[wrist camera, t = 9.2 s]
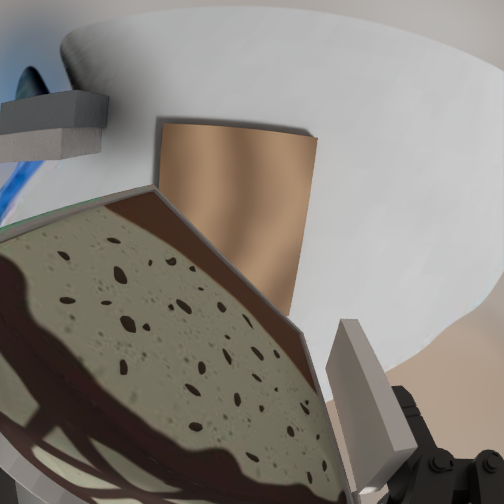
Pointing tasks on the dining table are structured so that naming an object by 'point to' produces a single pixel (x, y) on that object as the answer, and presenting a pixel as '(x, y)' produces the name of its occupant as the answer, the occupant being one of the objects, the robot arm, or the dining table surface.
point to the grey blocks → (52, 126)
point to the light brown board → (243, 197)
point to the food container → (152, 367)
